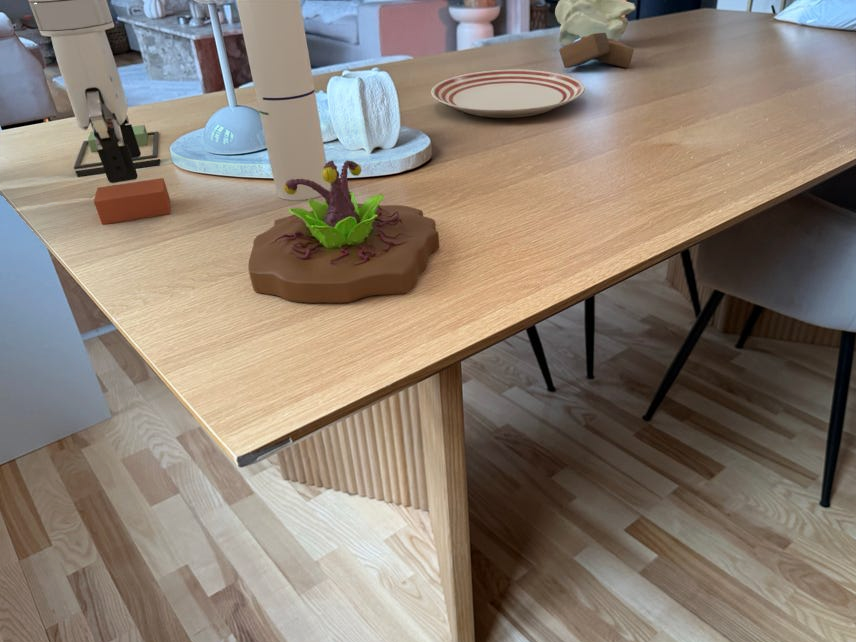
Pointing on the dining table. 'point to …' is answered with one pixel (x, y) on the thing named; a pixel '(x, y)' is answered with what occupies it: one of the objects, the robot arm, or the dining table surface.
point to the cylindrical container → (284, 92)
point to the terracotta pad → (132, 201)
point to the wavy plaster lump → (591, 18)
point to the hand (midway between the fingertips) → (126, 168)
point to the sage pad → (138, 131)
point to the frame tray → (101, 169)
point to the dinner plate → (507, 92)
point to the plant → (342, 246)
